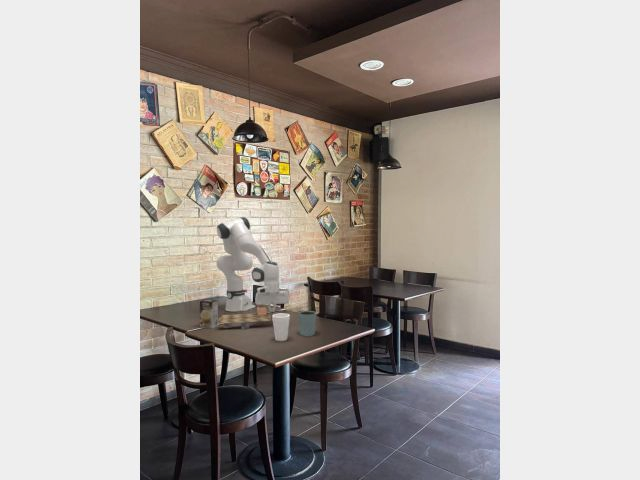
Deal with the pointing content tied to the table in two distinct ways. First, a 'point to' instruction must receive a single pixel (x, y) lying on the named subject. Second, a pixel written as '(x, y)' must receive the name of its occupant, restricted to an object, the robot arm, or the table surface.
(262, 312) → the rider
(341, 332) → the table surface
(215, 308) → the coffee box
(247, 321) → the beam
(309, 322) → the teal cup
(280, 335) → the foam cup
